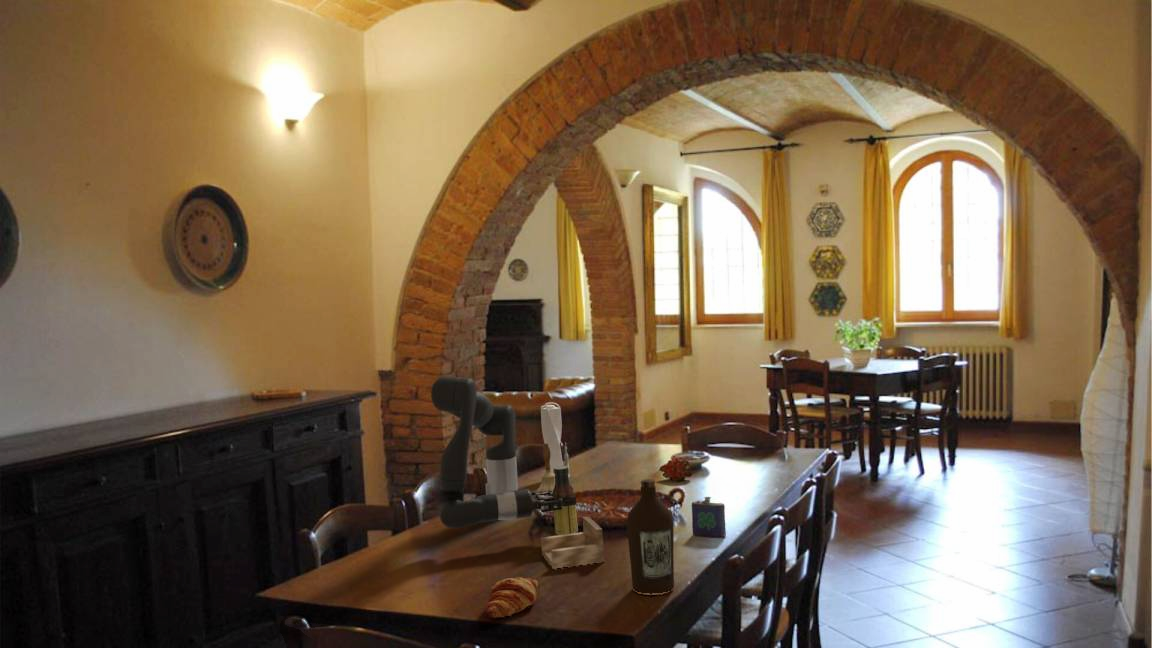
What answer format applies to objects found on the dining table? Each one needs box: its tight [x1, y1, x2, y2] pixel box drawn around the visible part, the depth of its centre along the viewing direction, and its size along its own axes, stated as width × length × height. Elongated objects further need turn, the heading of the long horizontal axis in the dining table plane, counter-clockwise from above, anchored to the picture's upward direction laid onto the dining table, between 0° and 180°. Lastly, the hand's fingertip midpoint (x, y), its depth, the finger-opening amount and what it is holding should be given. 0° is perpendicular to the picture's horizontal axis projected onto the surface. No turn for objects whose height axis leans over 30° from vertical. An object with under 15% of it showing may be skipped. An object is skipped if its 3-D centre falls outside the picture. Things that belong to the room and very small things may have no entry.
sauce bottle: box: [553, 465, 579, 536], centre depth 253 cm, size 6×6×20 cm
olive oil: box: [626, 478, 675, 594], centre depth 209 cm, size 11×11×25 cm
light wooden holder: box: [540, 516, 605, 570], centre depth 235 cm, size 13×13×8 cm
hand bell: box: [536, 443, 555, 492], centre depth 310 cm, size 8×8×16 cm
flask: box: [691, 496, 727, 539], centre depth 248 cm, size 9×3×11 cm, turn 63°
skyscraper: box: [540, 401, 571, 479], centre depth 325 cm, size 8×8×28 cm
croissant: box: [485, 576, 539, 619], centre depth 204 cm, size 21×10×8 cm, turn 157°
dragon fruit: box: [658, 456, 694, 482], centre depth 315 cm, size 8×8×12 cm
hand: (572, 497), depth 254 cm, fingers closed on sauce bottle, 6 cm apart
